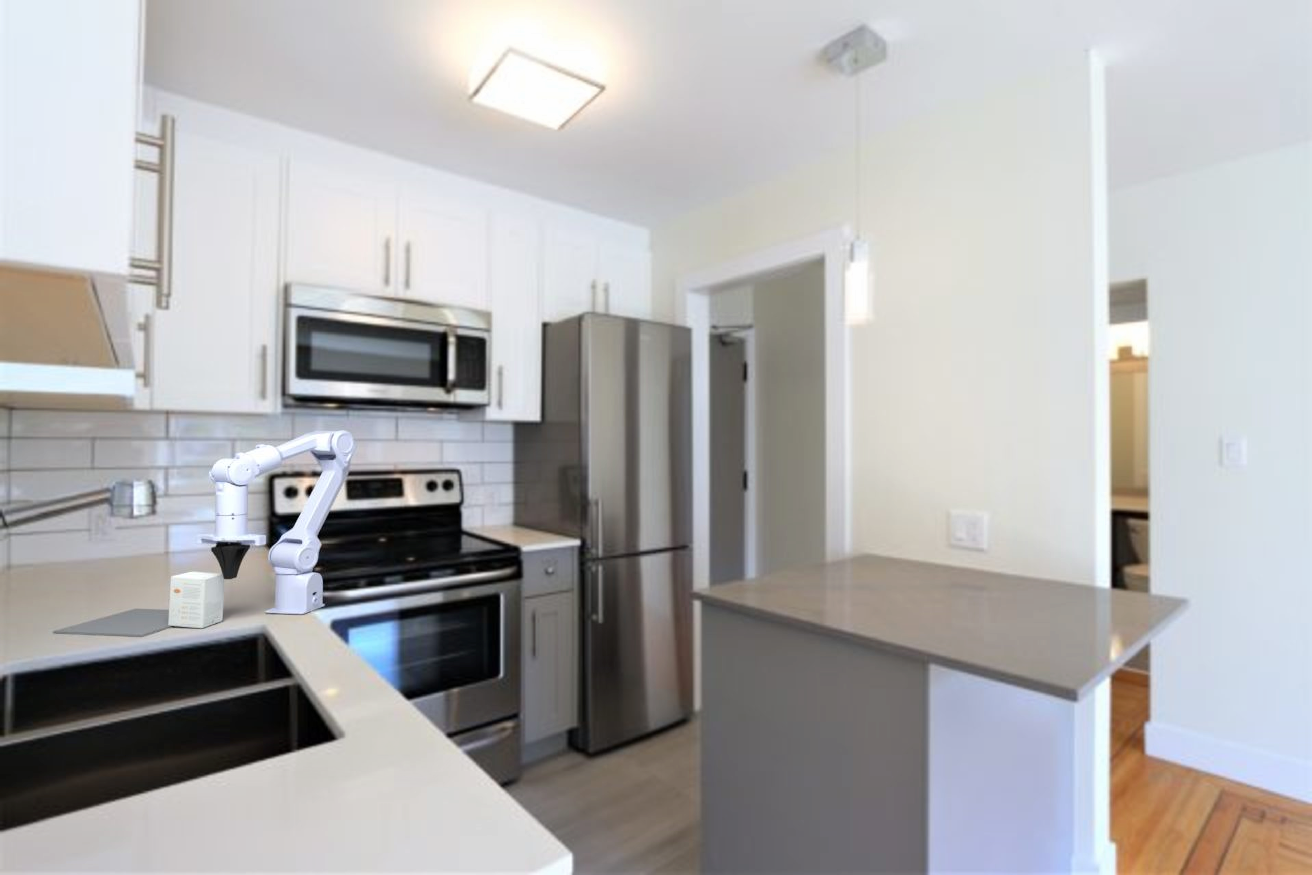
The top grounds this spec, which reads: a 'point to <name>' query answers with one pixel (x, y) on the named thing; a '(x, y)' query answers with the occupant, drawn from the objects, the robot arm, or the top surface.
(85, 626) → the mat
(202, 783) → the top surface
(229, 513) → the robot arm
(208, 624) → the small box
